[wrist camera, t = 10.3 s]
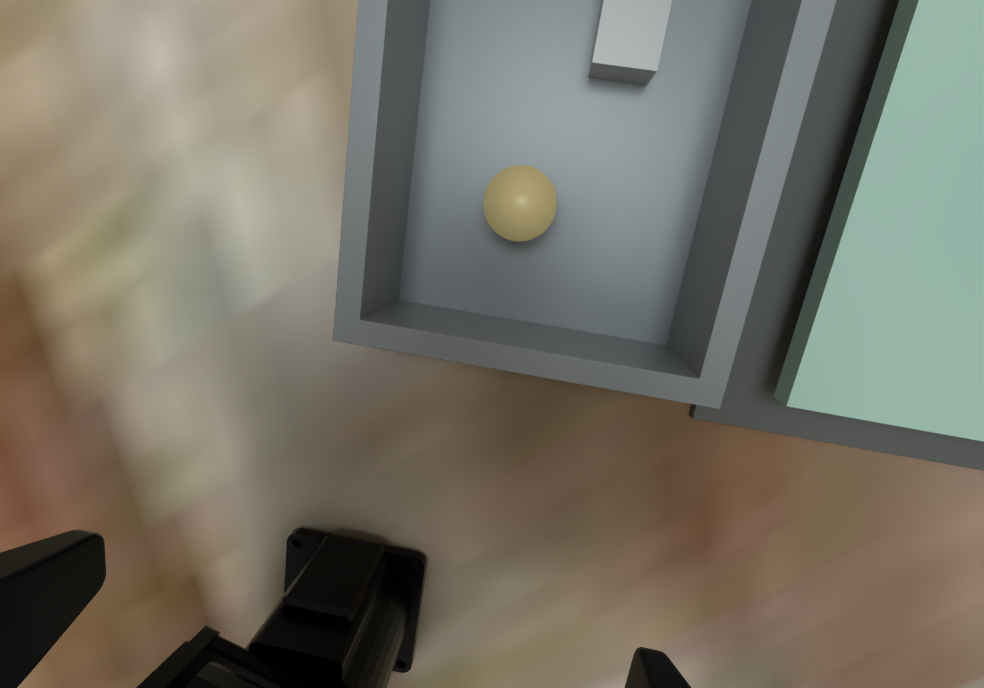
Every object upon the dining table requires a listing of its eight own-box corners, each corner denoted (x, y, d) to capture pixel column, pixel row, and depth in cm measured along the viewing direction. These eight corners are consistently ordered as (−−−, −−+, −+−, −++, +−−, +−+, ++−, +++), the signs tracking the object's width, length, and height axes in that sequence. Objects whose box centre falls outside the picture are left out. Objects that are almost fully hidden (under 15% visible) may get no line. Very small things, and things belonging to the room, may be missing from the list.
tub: (676, 363, 20) (719, 408, 15) (383, 312, 20) (333, 340, 16) (799, -117, 16) (912, -267, 11) (429, -157, 16) (381, -315, 12)
